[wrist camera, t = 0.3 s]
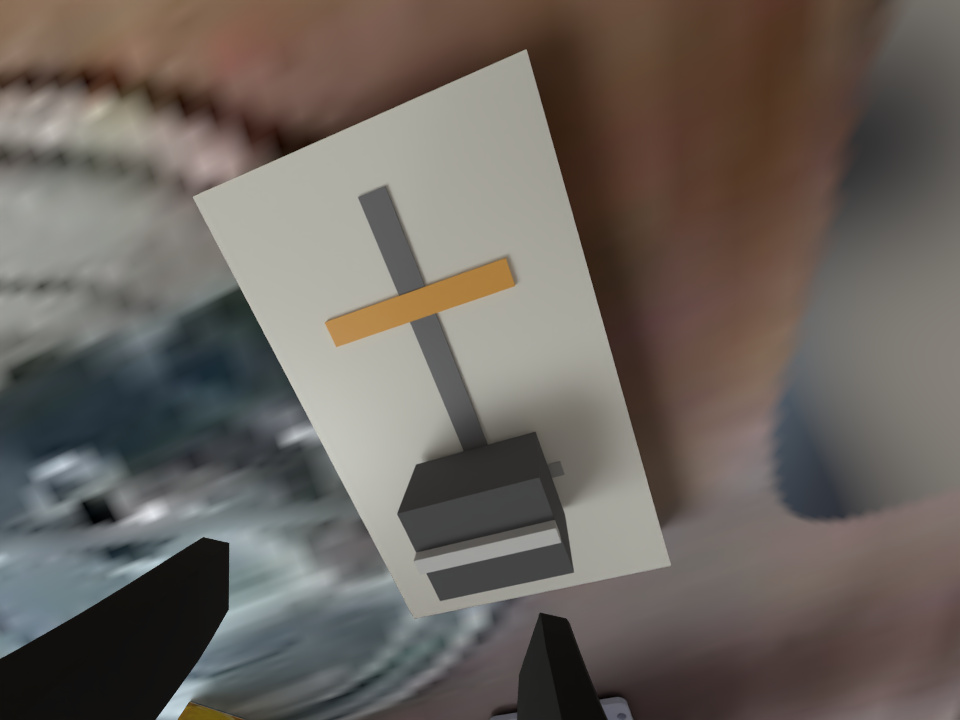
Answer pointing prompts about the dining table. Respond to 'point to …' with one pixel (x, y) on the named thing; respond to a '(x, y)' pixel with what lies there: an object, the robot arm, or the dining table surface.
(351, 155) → the control panel
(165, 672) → the robot arm
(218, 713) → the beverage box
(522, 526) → the block
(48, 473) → the dining table surface
